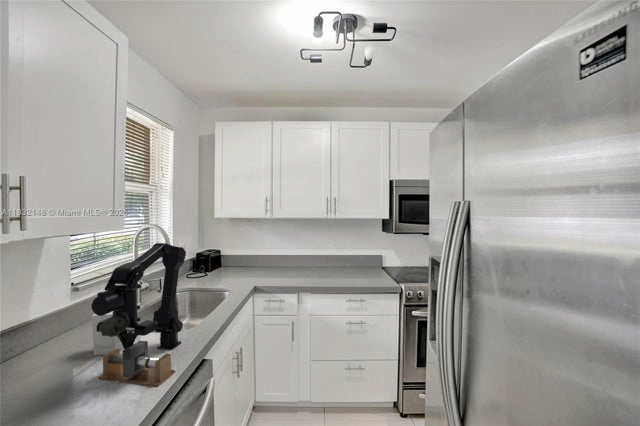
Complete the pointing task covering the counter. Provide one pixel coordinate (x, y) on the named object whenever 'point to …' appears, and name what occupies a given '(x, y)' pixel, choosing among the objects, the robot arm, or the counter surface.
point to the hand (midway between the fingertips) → (127, 351)
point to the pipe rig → (150, 375)
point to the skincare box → (104, 337)
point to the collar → (130, 354)
